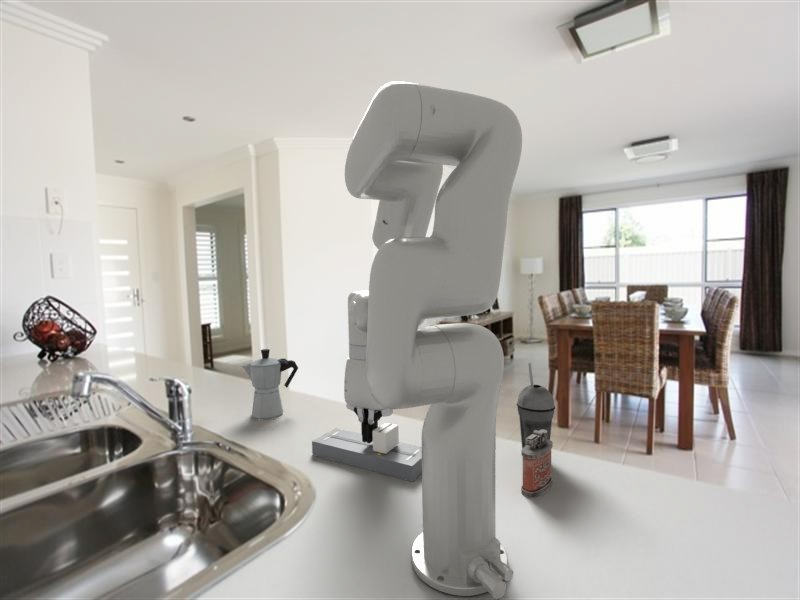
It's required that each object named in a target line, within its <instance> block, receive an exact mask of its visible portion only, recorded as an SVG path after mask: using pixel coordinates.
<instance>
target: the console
mask: <svg viewBox="0 0 800 600" xmlns="http://www.w3.org/2000/svg"><path fill="white" fill-rule="evenodd" d="M311 450H312V451H311V453H312V456H315V457H319V458H321V459H322V458H323V459H326V460H330V461H334V462H337V463H342V464H343V465H345V464H346V465H348V466H352V467H356V468H360V469H364V470H367V471H371V472H375V473H378V474H381V475H385V476H389V477H393V478H396V479H402V480H404V481H408V482H414V481H416V479H417V478H419V476H420V475H422V446H418V445H413V444H409V443H405V442H400V441H399V444H398V445H397V446H396V447H394V448H393V449H392V450H390V451H389V452H388V453H386V454H385V453H381V452H376V451H373V441H372V442H371V443H367V442H362V433H359V432H355V431H349V430H345V429H341V428H334V429H332V430H330V431H328V432H326V433H324V434H323V435H321V436H319V437H317V438H315V439H313V440H311Z"/></svg>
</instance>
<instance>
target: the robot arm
mask: <svg viewBox="0 0 800 600" xmlns="http://www.w3.org/2000/svg"><path fill="white" fill-rule="evenodd" d="M522 148H523V134H522V127H521V124H520V121H519V119H518V117H517V114H516V113H515V112H514V110H513V109H511V108H510V107H509V106H507V105H506V104H505V103H502V102H500V101H498V100H495V99H492V98H489V97H486V96H481V95H478V94H474V93H469V92H464V91H458V90H453V89H448V88H447V89H446V88H441V87H436V86H430V85H426V84H420V83H415V82H409V81H400V80H399V81H390V82H388V83H385V84H384V85H383V86H380V88H379V89H378V90H377V92H376V93H375V94H374V96H373V98H372V100H371V102H370V104H369V106H368V107H367V109H366V112H365V114H364V115H363V117H362V119H361V121H360V123H359V125H358V127H357V129H356V131H355V133H354V136H353V138H352V140H351V143H350V145H349V147H348V151H347V154H346V159H345V165H344V183H345V186H346V189H347V191H348V193H349V194H350V196H352V197H354V198H356V199H359V200H360V199H363V200H373V201H374V200H375V201H378V207H377V211H376V217H375V221H374V226H373V230H372V237H371V238H372V239H371V240H372V243H373V245H374V246H375V248H376V249H377V252H376V253H375V256H374V258H373V261H372V263H371V268H370V274H369V282H368V284H369V285H368V290H356V291H352V292H350V293H349V295H348V297H347V320H348V321H347V322H348V324H347V325H348V328H347V329H348V357H347V358H346V363H345V368H344V370H345V371H344V381H343V382H344V383H343V391H344V392H343V394H344V397H343V398H344V401H345V403H346V409H348V410H349V411H352V412H354V413H355V414H356V416H357V418H358V422H359V423H360V424H361V425H360V427H361V428H360V429H361V434H362V442H367V443H371V442H372V441H373V432H372V431H373V430H375V429H376V428H378V427H379V426H378V424H379V421H381V420H380V419H381V418H384V417H390V416H392V415H393V414H394V410H402V409H403V410H404V409H410V408H411V409H412V408H417V407H423V406H428V405H429V408H428V410H427V412H426V415H425V417H424V420H423V424H422V428H421V447H422V473H421V480H422V481H421V487H422V488H421V496H422V497H421V499H422V500H421V502H422V505H421V506H422V532H421V533H420V534H419V535H418V536H417V537H416V539H415V540H414V541H413V544H412V546H411V553H410V555H411V563H412V567H413V570H414V572H415V573H416V575H417V576H418V578H420V579H421V580H422V581H423V582H424V583H425V584H427V585H428V586H429V587H431V588H433V589H435V590H437V591H439V592H441V593H445V594H448V595H453V596H459V597H460V596H462V597H463V596H464V597H465V596H468V597H471V596H476V595H478V596H479V595H482V594H485V593H489V594H490V595H491V596H492V597H493V598H494V599H496V600H498V599H501V598H502V597H503V596H504V595H505V593H506V589H507V585H506V582H508V581H511V580H512V579H513V576H514V571H513V569H512V568H511V567H510V566H509V558H508V553H507V551H506V548H505V546H504V545H503V544H502V542H501V541H500V540H499V539H498V538H497V537H496V536H497V535H496V534H497V533H496V532H497V531H496V529H497V528H496V526H497V525H496V445H497V443H496V440H497V439H496V434H497V433H496V431H497V430H496V429H497V410H498V403H499V395H500V390H501V386H502V381H503V375H504V369H505V367H504V366H505V358H504V356H505V355H504V351H503V347H502V344H501V343H500V340H499V338H498V337H497V336H496V335H495V334H494V333H493V332H492V331H491V330H490V329H489V328H486V327H484V326H483V325H479V324H476V323H469V322H456V323H442V324H431V325H426V326H424V325H423V326H422V324H423V323H424V322H425V320H429V319H439V318H440V319H441V318H442V319H443V318H453V317H464V316H465V317H466V316H473V315H477V314H481V313H484V312H487V311H488V310H489V309H491V307H493V306H494V305H495V302H496V300H497V298H498V294H499V289H500V284H501V278H502V277H501V275H502V267H503V260H504V251H505V250H504V249H505V240H506V234H507V233H506V232H507V223H508V210H509V203H510V197H511V194H512V189H513V186H514V182H515V179H516V175H517V171H518V168H519V164H520V161H521V156H522V151H523V150H522ZM444 166H452V167H455V168H454V169H453V170H452V171H451V172H450V174H449V175H448V177H447V178H446V179H445V181H443V184H442V186H441V183H442V178H443V171H444ZM440 186H441V187H440ZM433 211H434V218H433V219H434V221H433V228H432V233H431V235H430V236H427V232H428V229H429V225H430V222H431V218H432V214H433ZM504 580H505V581H506V582H504Z"/></svg>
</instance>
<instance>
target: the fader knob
mask: <svg viewBox="0 0 800 600" xmlns="http://www.w3.org/2000/svg"><path fill="white" fill-rule="evenodd" d="M372 432H373V451H376V452H381V453H385V454H386V453H388V452H389V451H390V450H392V449H393V448H394V447H396V446H397V445H398V444H399V442H400V441H399V434H400V433H399V424H395V423H392V422H391V423H390V422H384V423H383V424H381V425H380V426H378V428H376V429H375V430H373V431H372Z"/></svg>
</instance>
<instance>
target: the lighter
mask: <svg viewBox="0 0 800 600" xmlns="http://www.w3.org/2000/svg"><path fill="white" fill-rule="evenodd" d="M553 444H554V443H553V441H552V440H551V439H550V440H548V439H547V430H543V429H542V430H540V431H537V430H534V431H533V434H532V435H530V436H529V437H527V438H526V446H525V447H524V448H523V449H522V448H521V450H520V451H521V457H522V485H521V487H520V489H521V490H520V491H521V495H522V496H524V497H527V498H530V499H531V498H536V497H538V496H540V495H543V494H544V493H545V492H547V491H548V490H549V489H550V488H551V487H552V485H553V476H552V448H553V446H554V445H553Z"/></svg>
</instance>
